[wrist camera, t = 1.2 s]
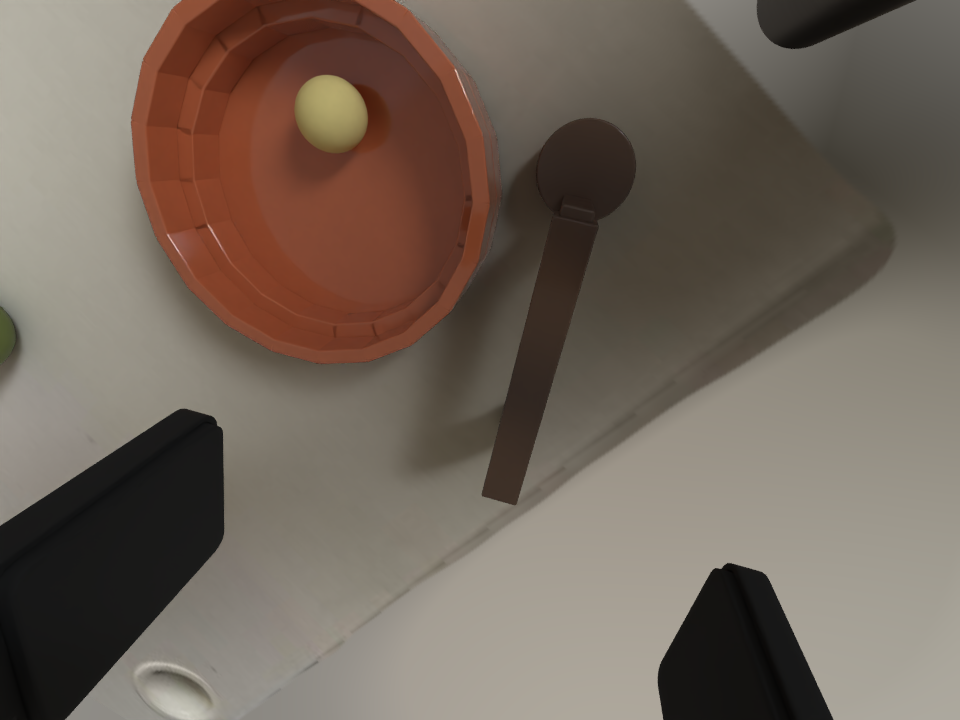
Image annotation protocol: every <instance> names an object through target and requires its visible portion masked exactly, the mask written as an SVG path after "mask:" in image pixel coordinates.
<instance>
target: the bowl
mask: <svg viewBox="0 0 960 720" xmlns="http://www.w3.org/2000/svg"><path fill="white" fill-rule="evenodd" d="M143 60H144V61H143V62H142V65H141V70H140V75H139V81H138V86H137V91H136V96H135V101H134V106H133V111H132V116H131V119H132V121H131V129H132V140H133V152H134V163H135V174H136V180H137V185H138V188H139V191H140V194H141V197H142V199H143V202H144V205H145V208H146V211H147V214H148V217H149V220H150V222H151V225H152V228H153V231H154V234H155V236H156V237H157V240H158V242H159V243H160V245H161V247H162V248H163V250H164V251H165V253H166V254H167V256H168V258H169V259H170V261H171V262H172V264H173V265H174V267H175V268H176V270H177V272H178V273H179V275H180V276H181V278H182V279H183V281H184V283H185V284H186V285H187V286H188V288H189V289H190V290H191V291H192V292H193V293H194V294H195V295H196V296H197V297H198V298H199V299H200V300H201V301H202V302H203V303H204V304H205V305H206V306H207V307H208V308H209V309H210V310H211V311H212V312H213V313H214V314H215V315H216V316H218V317H219V318H220V319H221V320H222V321H223V322H224V323H225V324H226V325H228V326H229V327H231V328H233V329H234V330H236V331H238V332H239V333H241V334H243V335H245V336H246V337H248V338H250V339H251V340H253V341H255V342H257V343H258V344H260V345H262V346H263V347H265V348H267V349H269V350H271V351H273V352H276V353H280V354H284V355H287V356H291V357H295V358H299V359H302V360H306V361H310V362H314V363H317V364H319V363H320V364H333V363H359V362H370V361H373V360H375V359H378V358H380V357H383V356H386V355H388V354H391V353H393V352H396V351H399V350H401V349H404V348H406V347H409V346H411V345H412V344H414V343H415V342H417V341H418V340H419V339H420V338H421V337H422V336H424V335H425V334H426V333H427V332H428V331H429V330H430V329H432V328H433V327H434V326H435V325H436V324H437V323H439V322H440V321H441V320H442V319H443V318H444V317H445V316H447V315H448V314H449V313H450V312H451V311H452V309H453V308H454V307H455V305H456V304H457V303H458V301H459V300H460V299H461V298H462V296H463V295H464V294H465V292H466V291H467V290H468V288H469V286H470V285H471V283H472V281H473V279H474V278H475V276H476V274H477V272H478V271H479V269H480V267H481V265H482V264H483V262H484V260H485V258H486V257H487V255H488V253H489V251H490V250H491V247H492V242H493V237H494V233H495V228H496V223H497V218H498V214H499V209H500V204H501V199H502V187H501V176H500V165H499V154H498V143H497V138H496V137H497V136H496V134H495V131H494V129H493V126H492V124H491V121H490V119H489V116H488V114H487V111H486V109H485V106H484V104H483V101H482V99H481V96H480V94H479V91H478V89H477V86H476V84H475V81H474V80H473V78H472V77H471V76H470V74H469V73H468V72H467V71H466V70H465V68H464V67H463V66H462V65H461V63H460V62H459V61H458V60H457V58H456V57H455V56H454V55H453V53H452V52H451V51H450V50H449V48H448V47H447V46H446V45H445V44H444V42H443V41H442V40H441V39H440V37H439V36H438V35H437V34H436V33H435V32H434V31H433V30H432V29H431V28H430V27H429V26H427V25H426V24H425V23H424V22H423V21H421V20H420V19H419V18H418V17H417V16H415V15H414V14H413V13H412V12H411V11H409V10H408V9H407V8H406V7H404V6H402V5H401V4H399V3H398V2H396V1H395V0H182V1H181V2H179V3H178V4H177V5H175V6H174V7H173V9H172V10H171V11H170V13H169V15H168V17H167V18H166V20H165V22H164V24H163V25H162V27H161V29H160V30H159V32H158V34H157V36H156V37H155V39H154V41H153V42H152V44H151V46H150V48H149V49H148V51H147V53H146V55H145V56H144V58H143ZM320 75H333V76H337V77H340V78H342V79H344V80H346V81H348V82H349V83H350V84H352V85H353V86H354V87H355V88H356V89H357V90H358V92H359V93H360V94H361V96H362V98H363V100H364V102H365V105H366V108H367V113H368V125H367V130H366V133H365V135H364V137H363V139H362V140H361V142H360V143H359V144H358V145H357V146H356V147H354V148H353V149H351V150H349V151H347V152H344V153H328V152H325V151H322V150H320V149H318V148H316V147H314V146H313V145H312V144H311V143H309V142H308V141H307V140H306V139H305V137H304V136H303V135H302V133H301V131H300V129H299V127H298V125H297V122H296V118H295V112H294V107H295V100H296V97H297V94H298V92H299V90H300V89H301V87H302V86H303V85H304V84H305V83H306V82H307V81H308V80H310V79H312V78H313V77H316V76H320Z"/></svg>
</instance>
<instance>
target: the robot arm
mask: <svg viewBox="0 0 960 720" xmlns="http://www.w3.org/2000/svg"><path fill="white" fill-rule="evenodd" d="M223 535H224V473H223V430H222V428H221V427H219V426H217V421H216V420H215V418H214V417H212V416H209V415H206V414H202V413H199V412H195V411H192V410H188V409H179V410H177V411H175V412H174V413H172V414H171V415H169V416H168V417H166V418H165V419H163V420H161V421H160V422H158V423H157V424H155V425H154V426H152V427H151V428H149V429H148V430H146V431H145V432H143V433H142V434H140V435H139V436H137V437H135V438H134V439H132V440H131V441H129V442H128V443H126V444H125V445H123V446H122V447H120V448H119V449H117V450H116V451H114V452H113V453H111V454H110V455H108V456H106V457H105V458H103V459H102V460H100V461H99V462H97V463H96V464H94V465H93V466H91V467H90V468H88V469H87V470H85V471H84V472H82V473H80V474H79V475H77V476H76V477H74V478H73V479H71V480H70V481H68V482H67V483H65V484H64V485H62V486H61V487H59V488H58V489H56V490H54V491H53V492H51V493H50V494H48V495H47V496H45V497H44V498H42V499H41V500H39V501H38V502H36V503H35V504H33V505H32V506H30V507H28V508H27V509H25V510H24V511H22V512H21V513H19V514H18V515H16V516H15V517H13V518H12V519H10V520H9V521H7V522H6V523H4V524H3V525H1V526H0V720H65V719H66V718H67V717H68V716H69V715H70V714H71V712H72V711H73V710H74V709H75V708H76V707H77V706H78V705H79V704H80V702H81V701H82V700H83V699H84V698H85V697H86V696H87V695H88V694H89V692H90V691H91V690H92V689H93V688H94V687H95V686H96V685H97V683H98V682H99V681H100V680H101V679H102V678H103V677H104V676H105V674H106V673H107V672H108V671H109V670H110V669H111V668H112V667H113V665H114V664H115V663H116V662H117V661H118V660H119V659H120V658H121V657H122V655H123V654H124V653H125V652H126V651H127V650H128V649H129V648H130V646H131V645H132V644H133V643H134V642H135V641H136V640H137V639H138V637H139V636H140V635H141V634H142V633H143V632H144V631H145V630H146V629H147V627H148V626H149V625H150V624H151V623H152V622H153V621H154V620H155V618H156V617H157V616H158V615H159V614H160V613H161V612H162V611H163V609H164V608H165V607H166V606H167V605H168V604H169V603H170V602H171V601H172V599H173V598H174V597H175V596H176V595H177V594H178V593H179V592H180V590H181V589H182V588H183V587H184V586H185V585H186V584H187V583H188V581H189V580H190V579H191V578H192V577H193V576H194V575H195V574H196V573H197V571H198V570H199V569H200V568H201V567H202V566H203V565H204V564H205V562H206V561H207V560H208V559H209V558H210V557H211V556H212V555H213V553H214V552H215V551H216V550H217V548H218V547H219V545H220V543H221V541H222V539H223ZM658 689H659V695H660V701H661V707H662V714H663V720H833V718H832V716H831V713H830V711H829V709H828V707H827V705H826V702H825V700H824V698H823V696H822V694H821V692H820V689H819V687H818V686H817V683H816V681H815V679H814V676H813V674H812V672H811V670H810V668H809V666H808V663H807V661H806V659H805V657H804V655H803V652H802V650H801V648H800V646H799V644H798V642H797V640H796V637H795V635H794V633H793V631H792V629H791V627H790V624H789V622H788V620H787V618H786V616H785V613H784V611H783V609H782V607H781V605H780V603H779V601H778V599H777V596H776V594H775V592H774V590H773V587H772V585H771V583H770V581H769V579H768V578H767V576H766V575H765V574H764V573H763V572H760V571H756V570H753V569H750V568H746V567H742V566H738V565H735V564H732V563H727V564H726V565H724V566H723V568H722V569H718V568H715V569H713V570H712V572H711V573H710V575H709V577H708V579H707V580H706V582H705V584H704V586H703V587H702V589H701V591H700V593H699V595H698V596H697V598H696V600H695V602H694V604H693V606H692V607H691V609H690V611H689V613H688V615H687V616H686V618H685V620H684V622H683V624H682V625H681V627H680V629H679V631H678V633H677V634H676V636H675V638H674V640H673V642H672V643H671V645H670V647H669V649H668V651H667V652H666V654H665V656H664V658H663V660H662V662H661V664H660V667H659V671H658Z"/></svg>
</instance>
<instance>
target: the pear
mask: <svg viewBox="0 0 960 720" xmlns="http://www.w3.org/2000/svg"><path fill="white" fill-rule="evenodd" d="M15 340H16V333H15V328H14V325H13V323H12V321H11V319H10V317H9V316H8V314H7V313H6V312H5V311H4V310H3V309H2V308H1V307H0V365H1V364H2V363H3V362H4V361H5V360H6V359H7V358H8V357H9V355H10V354H11V352H12V350H13V348H14V345H15Z"/></svg>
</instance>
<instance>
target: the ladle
mask: <svg viewBox="0 0 960 720" xmlns="http://www.w3.org/2000/svg"><path fill="white" fill-rule="evenodd" d="M635 172H636V160H635V154H634V151H633V148H632V146H631V143H630V141H629V140H628V138H627V137H626V135H625V134H624V133H623V132H622V131H621V130H620V129H619V128H618V127H616V126H615V125H613V124H611V123H609V122H607V121H604V120H601V119H596V118H584V119H578V120H575V121H572V122H570V123H567V124H565V125H564V126H562V127H561V128H559V129H558V130H557V131H556V132H554V133H553V135H552V136H551V137H550V138H549V139H548V140H547V142H546V143H545V145H544V147H543V148H542V151H541V153H540V155H539V159H538V162H537V169H536V179H537V185H538V189H539V192H540V195H541V197H542V199H543V200H544V202H545V203H546V205H547V206H548V207H549V208H550V209H551V210H552V211H553V212H554V214H553V217H552V221H551V225H550V229H549V233H548V237H547V240H546V244H545V248H544V252H543V256H542V260H541V264H540V268H539V272H538V276H537V280H536V284H535V287H534V291H533V295H532V299H531V303H530V307H529V311H528V315H527V319H526V323H525V327H524V331H523V334H522V338H521V342H520V346H519V350H518V354H517V358H516V362H515V366H514V370H513V374H512V378H511V381H510V385H509V389H508V393H507V397H506V401H505V405H504V409H503V413H502V417H501V421H500V425H499V428H498V432H497V436H496V440H495V444H494V448H493V452H492V456H491V460H490V464H489V468H488V472H487V475H486V479H485V483H484V487H483V491H482V496H484V497H487V498H491V499H494V500H498V501H501V502H505V503H508V504H512V505H516V504H517V501H518V497H519V494H520V491H521V487H522V484H523V481H524V477H525V474H526V470H527V467H528V464H529V460H530V457H531V454H532V450H533V447H534V443H535V440H536V437H537V433H538V430H539V427H540V423H541V420H542V416H543V413H544V410H545V406H546V403H547V399H548V396H549V393H550V389H551V386H552V383H553V379H554V376H555V372H556V369H557V366H558V362H559V359H560V356H561V352H562V349H563V345H564V342H565V339H566V335H567V332H568V329H569V325H570V322H571V318H572V315H573V312H574V308H575V305H576V302H577V298H578V295H579V291H580V288H581V285H582V281H583V278H584V275H585V271H586V268H587V264H588V261H589V258H590V254H591V251H592V248H593V244H594V241H595V237H596V234H597V231H598V223H597V220H598V219H601V218H603V217H605V216H607V215H609V214H610V213H612V212H613V211H615V210H616V209H617V208H618V207H619V206H620V205H621V204H622V203H623V202H624V200H625V199H626V197H627V196H628V194H629V192H630V190H631V188H632V185H633V182H634V178H635Z"/></svg>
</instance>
